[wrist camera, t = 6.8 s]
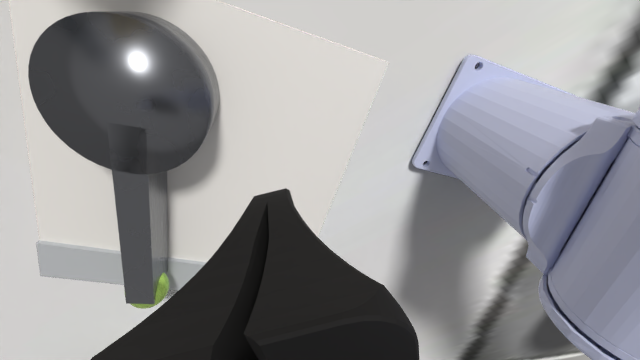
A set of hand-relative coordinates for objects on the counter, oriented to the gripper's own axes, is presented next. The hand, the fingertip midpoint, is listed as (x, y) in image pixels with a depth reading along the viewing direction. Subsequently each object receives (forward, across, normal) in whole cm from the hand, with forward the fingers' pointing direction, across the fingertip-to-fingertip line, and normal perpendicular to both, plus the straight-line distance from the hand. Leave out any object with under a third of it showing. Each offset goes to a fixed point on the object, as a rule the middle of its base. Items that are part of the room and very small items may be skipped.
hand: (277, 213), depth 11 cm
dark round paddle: (+8, +8, +1) cm, 11 cm away
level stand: (+9, +6, +2) cm, 11 cm away
